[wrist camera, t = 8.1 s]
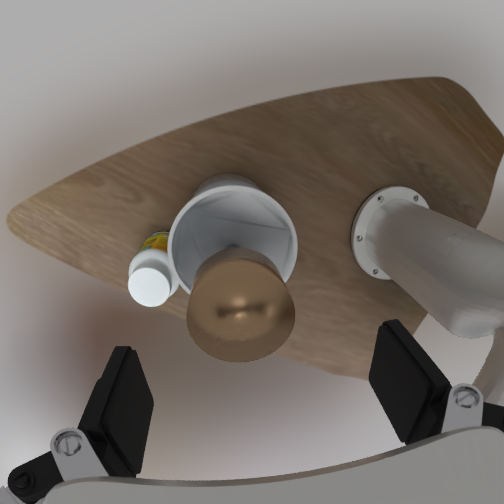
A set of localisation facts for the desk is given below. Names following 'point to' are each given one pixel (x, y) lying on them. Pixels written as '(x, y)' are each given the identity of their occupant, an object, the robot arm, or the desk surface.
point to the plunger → (239, 306)
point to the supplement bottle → (152, 272)
